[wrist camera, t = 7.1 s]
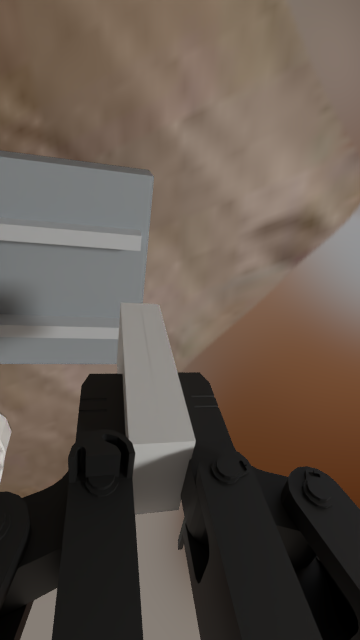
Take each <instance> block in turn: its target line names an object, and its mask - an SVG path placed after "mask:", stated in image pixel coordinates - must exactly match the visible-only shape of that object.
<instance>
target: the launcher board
mask: <svg viewBox="0 0 360 640" xmlns="http://www.w3.org/2000/svg"><path fill="white" fill-rule="evenodd" d="M153 181H154V176H153V175H152V173H151V172H150V171H149V170H145V169H137V168H129V167H122V166H114V165H107V164H99V163H91V162H84V161H76V160H69V159H61V158H54V157H46V156H38V155H31V154H23V153H16V152H8V151H0V364H117V351H118V336H119V321H120V305H121V303H142V304H143V293H144V282H145V271H146V260H147V249H148V237H149V226H150V215H151V204H152V193H153Z"/></svg>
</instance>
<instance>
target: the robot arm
mask: <svg viewBox="0 0 360 640" xmlns="http://www.w3.org/2000/svg"><path fill="white" fill-rule="evenodd" d="M68 467H69V470H68V472H67V473H66V474H65V475H64V477H63V478H62V479H61V480H59V481H58V482H57V483H55V484H54V485H52V486H50V487H48V488H46V489H44V490H42V491H39V492H37V493H34V494H32V495H29V496H26V497H24V498H21V497H20V496H19V495H16V494H13V493H11V492H0V640H20V638H21V635H22V632H23V629H24V627H25V624H26V621H27V618H28V615H29V612H30V610H31V607H32V604H33V601H34V600H35V599H37V598H39V597H41V596H42V595H45V594H46V593H48V592H50V591H52V590H54V589H56V588H57V597H56V606H55V615H54V624H53V634H52V640H143V630H142V615H141V601H140V586H139V572H138V571H139V570H138V554H137V540H136V524H135V514H144V513H154V512H163V511H173V510H178V509H179V506H180V501H181V500H182V505H183V511H184V516H185V517H184V521H183V524H182V528H181V532H180V535H179V539H178V550H179V549H182V548H183V545H184V546H185V552H186V557H187V563H188V569H189V574H190V581H191V586H192V592H193V598H194V604H195V609H196V615H197V621H198V627H199V632H200V638H201V640H360V509H359V508H358V507H357V506H356V505H355V503H354V502H353V501H352V500H351V499H350V498H349V496H348V495H347V494H346V493H345V492H344V491H343V490H342V489H341V487H340V486H339V485H338V484H337V483H336V482H335V481H334V480H333V479H332V478H331V477H330V476H328V475H327V474H325V473H323V472H322V471H320V470H318V469H315V468H310V467H298V468H296V469H295V470H294V471H292V472H291V473H290V475H289V477H286V476H282V475H277V474H273V473H269V472H265V471H262V470H259V469H256V468H255V467H253V466H251V465H250V463H249V462H248V460H247V459H246V458H245V457H244V456H242V455H241V454H240V453H239V452H237V451H236V450H235V448H234V446H233V443H232V441H231V438H230V436H229V433H228V431H227V428H226V425H225V422H224V420H223V417H222V415H221V412H220V410H219V408H218V404H217V402H216V399H215V398H214V394H213V391H212V388H211V386H210V383H209V382H208V381H207V380H206V379H205V378H204V377H203V376H202V375H201V374H200V373H177V369H176V365H175V362H174V358H173V354H172V351H171V347H170V343H169V339H168V336H167V332H166V328H165V324H164V321H163V317H162V313H161V310H160V306H159V304H142V303H121V305H120V321H119V336H118V351H117V374H89V376H88V377H87V379H86V380H85V381H84V383H83V384H82V387H81V396H80V406H79V415H78V424H77V434H76V443H75V444H74V445H73V446H72V448H71V451H70V454H69V456H68Z"/></svg>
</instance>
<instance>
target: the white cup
mask: <svg viewBox="0 0 360 640" xmlns="http://www.w3.org/2000/svg"><path fill="white" fill-rule="evenodd" d="M10 436H11V429H10V426H9V424H8V421H7V419H6V418H5V417H4V416H3V415H2V414H0V482H1V477H2V472H3V468H4V459H5V454H6V450H7V446H8V443H9V439H10Z"/></svg>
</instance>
